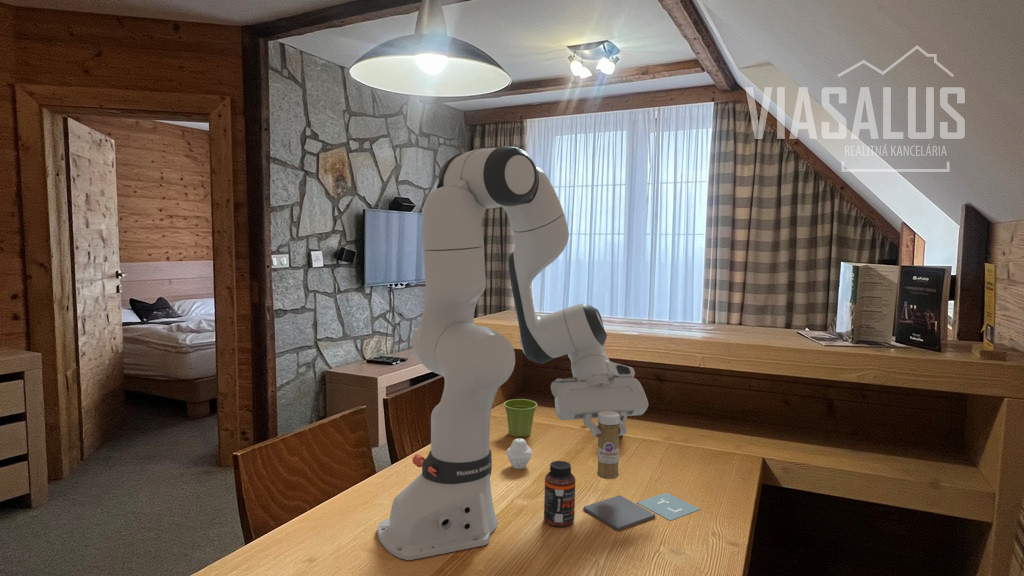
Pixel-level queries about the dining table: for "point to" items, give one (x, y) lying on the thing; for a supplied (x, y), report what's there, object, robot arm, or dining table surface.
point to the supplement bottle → (559, 495)
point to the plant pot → (520, 416)
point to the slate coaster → (619, 512)
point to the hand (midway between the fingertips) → (609, 434)
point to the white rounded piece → (519, 453)
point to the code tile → (668, 506)
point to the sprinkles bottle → (608, 444)
